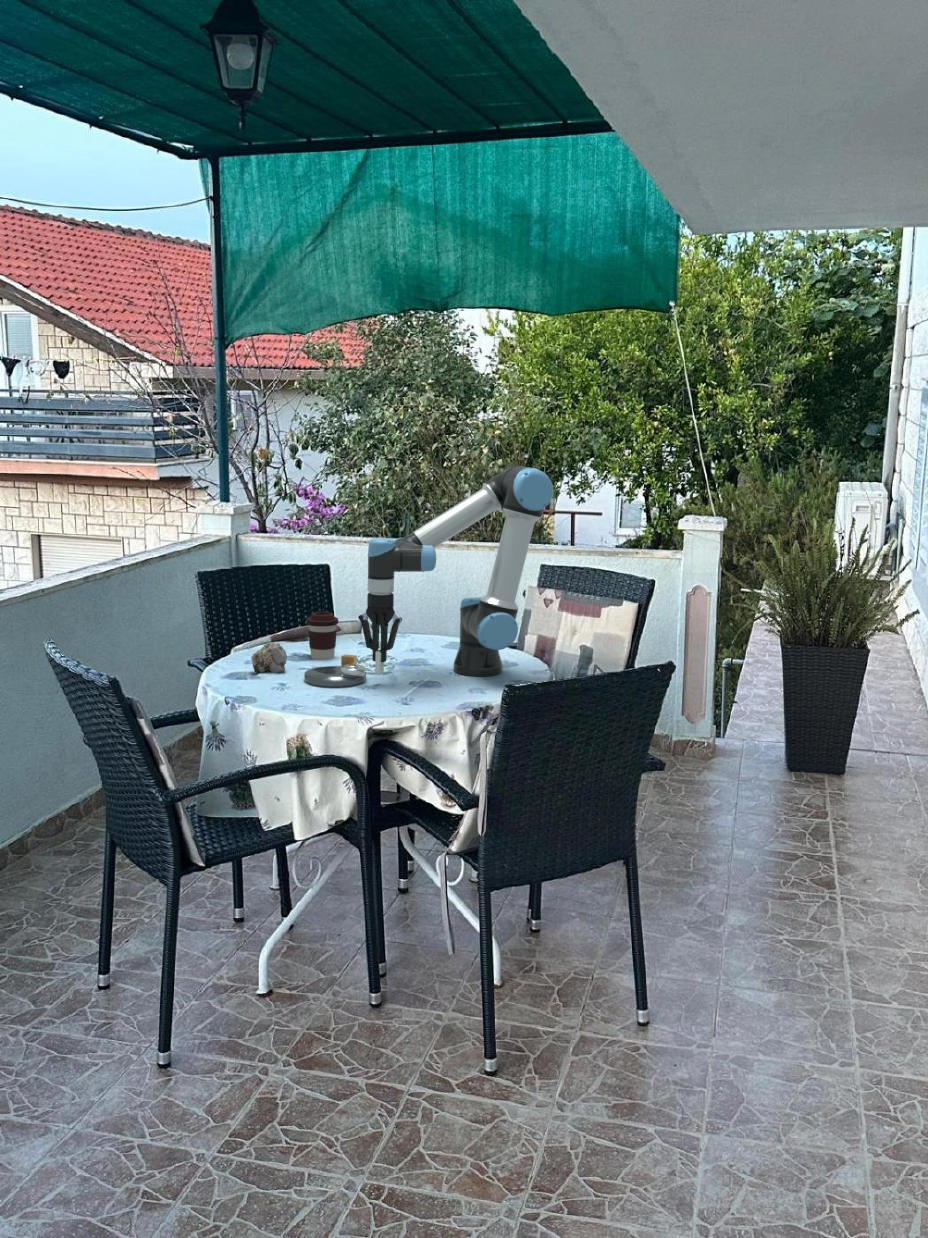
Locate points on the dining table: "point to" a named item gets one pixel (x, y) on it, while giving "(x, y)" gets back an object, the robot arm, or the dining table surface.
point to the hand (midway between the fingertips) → (379, 672)
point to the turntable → (333, 675)
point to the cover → (352, 671)
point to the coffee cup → (322, 635)
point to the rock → (269, 658)
